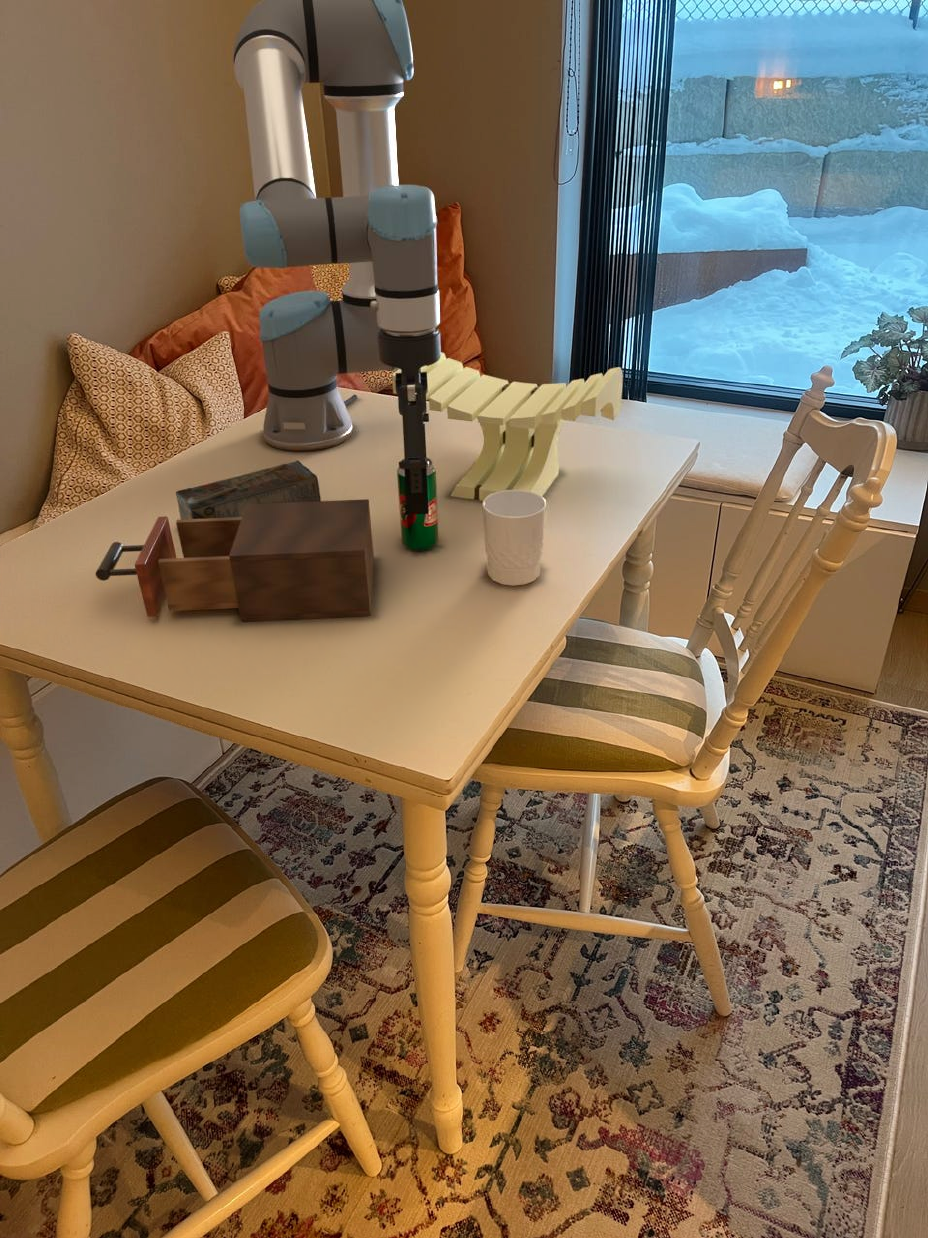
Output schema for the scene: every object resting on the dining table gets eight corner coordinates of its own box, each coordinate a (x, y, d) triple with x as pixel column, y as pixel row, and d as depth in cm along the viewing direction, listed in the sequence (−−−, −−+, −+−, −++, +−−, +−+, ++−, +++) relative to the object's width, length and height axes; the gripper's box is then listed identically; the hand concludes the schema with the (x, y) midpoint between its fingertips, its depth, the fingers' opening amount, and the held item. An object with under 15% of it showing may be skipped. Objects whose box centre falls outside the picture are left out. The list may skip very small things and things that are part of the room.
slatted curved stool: (616, 473, 146) (624, 360, 136) (589, 516, 134) (596, 396, 124) (439, 449, 156) (435, 343, 146) (399, 488, 143) (391, 374, 134)
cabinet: (240, 622, 112) (228, 555, 107) (256, 566, 124) (246, 504, 119) (370, 616, 113) (364, 549, 108) (374, 561, 124) (368, 498, 119)
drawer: (98, 619, 112) (83, 566, 108) (124, 568, 122) (112, 518, 118) (268, 611, 112) (259, 558, 108) (280, 561, 123) (272, 511, 119)
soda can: (434, 554, 125) (430, 471, 119) (397, 551, 126) (392, 469, 120) (442, 536, 129) (439, 456, 123) (407, 534, 130) (402, 453, 124)
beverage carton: (180, 527, 134) (171, 485, 130) (305, 496, 142) (300, 455, 138) (197, 549, 128) (188, 506, 124) (326, 515, 136) (321, 473, 132)
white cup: (474, 565, 123) (472, 496, 117) (528, 553, 125) (529, 484, 120) (498, 593, 116) (497, 522, 111) (554, 580, 119) (557, 509, 113)
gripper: (380, 303, 122) (390, 455, 134) (373, 360, 101) (387, 534, 113) (437, 301, 123) (443, 453, 134) (442, 357, 102) (449, 532, 113)
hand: (417, 490), depth 123 cm, fingers open, 13 cm apart
